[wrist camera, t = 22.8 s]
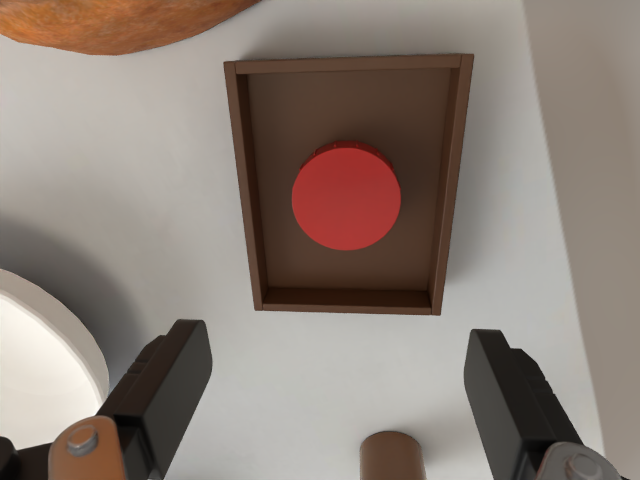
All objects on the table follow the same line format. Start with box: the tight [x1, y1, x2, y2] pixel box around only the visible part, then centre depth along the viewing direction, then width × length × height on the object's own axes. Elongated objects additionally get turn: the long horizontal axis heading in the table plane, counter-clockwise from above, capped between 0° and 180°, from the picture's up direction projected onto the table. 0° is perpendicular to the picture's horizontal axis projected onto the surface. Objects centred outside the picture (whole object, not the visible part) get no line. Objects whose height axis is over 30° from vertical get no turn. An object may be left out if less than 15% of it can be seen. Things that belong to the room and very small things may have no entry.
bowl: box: [0, 268, 109, 450], centre depth 29 cm, size 20×20×6 cm
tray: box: [223, 53, 474, 316], centre depth 23 cm, size 12×15×3 cm
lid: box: [292, 140, 401, 250], centre depth 23 cm, size 6×6×2 cm
